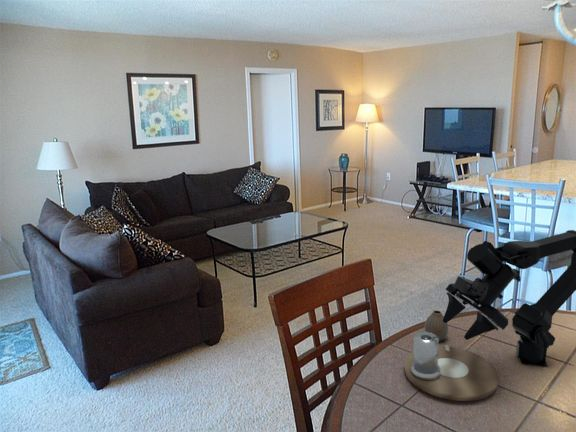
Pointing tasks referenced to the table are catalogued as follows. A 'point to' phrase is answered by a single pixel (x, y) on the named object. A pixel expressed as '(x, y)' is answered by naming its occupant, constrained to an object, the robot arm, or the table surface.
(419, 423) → the table surface
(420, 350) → the cover
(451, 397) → the turntable
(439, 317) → the vase
